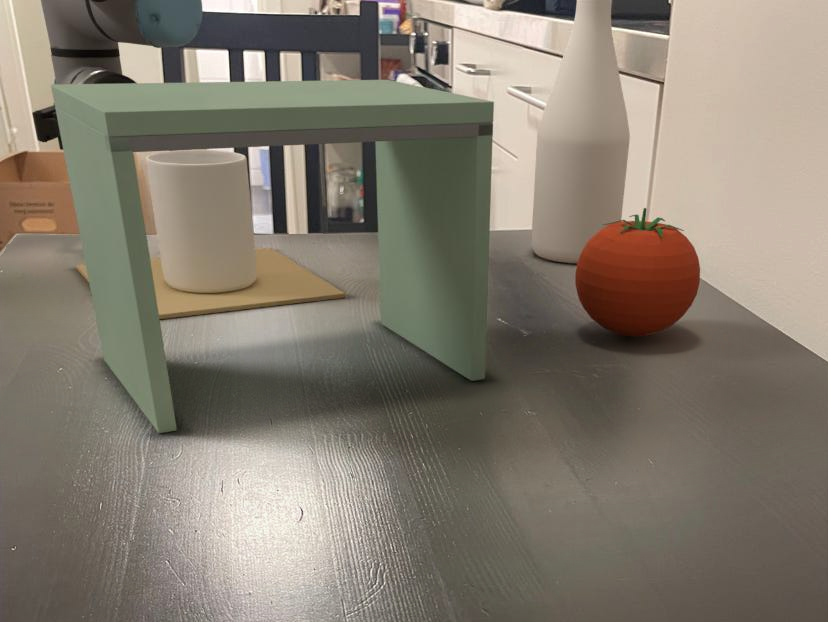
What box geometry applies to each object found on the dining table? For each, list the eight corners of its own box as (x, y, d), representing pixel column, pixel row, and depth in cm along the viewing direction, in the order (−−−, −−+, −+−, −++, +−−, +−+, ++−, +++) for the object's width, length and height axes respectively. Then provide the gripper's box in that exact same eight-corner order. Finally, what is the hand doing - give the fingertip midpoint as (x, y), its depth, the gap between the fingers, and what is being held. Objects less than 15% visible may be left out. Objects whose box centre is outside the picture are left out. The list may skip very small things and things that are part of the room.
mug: (245, 261, 98) (233, 143, 92) (265, 291, 89) (253, 163, 83) (158, 265, 96) (139, 145, 90) (168, 297, 86) (148, 165, 80)
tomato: (597, 357, 77) (610, 223, 71) (553, 320, 85) (562, 197, 79) (712, 349, 80) (734, 219, 74) (659, 314, 88) (674, 195, 82)
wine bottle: (543, 266, 101) (565, -92, 84) (521, 246, 109) (538, -86, 92) (629, 264, 103) (668, -86, 86) (602, 244, 111) (633, -81, 94)
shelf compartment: (158, 434, 62) (104, 111, 52) (104, 360, 73) (50, 84, 63) (485, 379, 72) (494, 101, 62) (393, 322, 83) (387, 79, 73)
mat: (124, 323, 81) (123, 318, 81) (76, 269, 95) (75, 265, 95) (345, 297, 89) (344, 293, 89) (271, 251, 104) (270, 247, 103)
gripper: (225, 143, 115) (288, 170, 100) (-1, 151, 104) (31, 183, 89) (217, 70, 111) (281, 87, 96) (-19, 71, 100) (11, 90, 85)
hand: (161, 133), depth 92 cm, fingers open, 13 cm apart
